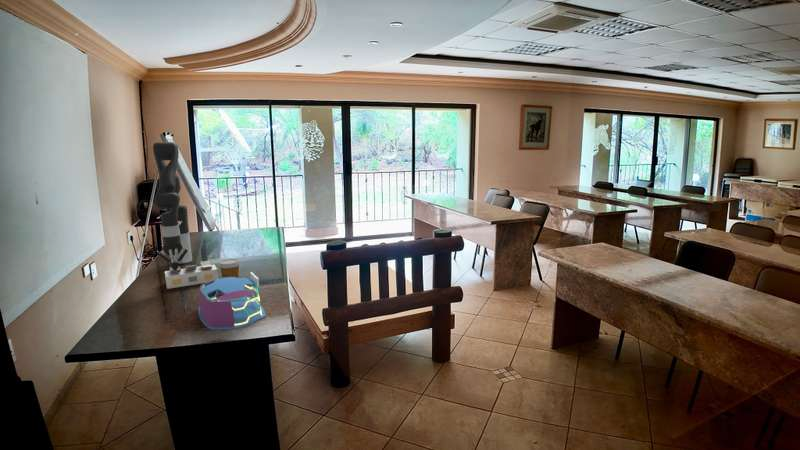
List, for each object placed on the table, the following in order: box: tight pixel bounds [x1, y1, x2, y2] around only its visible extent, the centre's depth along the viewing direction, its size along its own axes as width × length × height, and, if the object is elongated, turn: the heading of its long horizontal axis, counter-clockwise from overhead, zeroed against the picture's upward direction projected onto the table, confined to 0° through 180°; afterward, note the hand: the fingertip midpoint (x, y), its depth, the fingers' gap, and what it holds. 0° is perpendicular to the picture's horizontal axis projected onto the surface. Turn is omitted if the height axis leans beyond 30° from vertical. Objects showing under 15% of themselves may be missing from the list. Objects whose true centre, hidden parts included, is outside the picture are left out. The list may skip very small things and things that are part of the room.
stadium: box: [197, 271, 267, 330], centre depth 179 cm, size 35×24×14 cm
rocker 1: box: [169, 265, 182, 273], centre depth 213 cm, size 8×4×1 cm, turn 30°
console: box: [164, 264, 219, 290], centre depth 218 cm, size 10×23×7 cm, turn 120°
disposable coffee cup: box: [218, 258, 240, 278], centre depth 212 cm, size 10×10×12 cm
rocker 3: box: [199, 259, 213, 270], centre depth 220 cm, size 8×4×1 cm, turn 30°
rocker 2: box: [184, 264, 197, 270], centre depth 217 cm, size 8×4×1 cm, turn 30°
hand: (175, 269), depth 211 cm, fingers closed
